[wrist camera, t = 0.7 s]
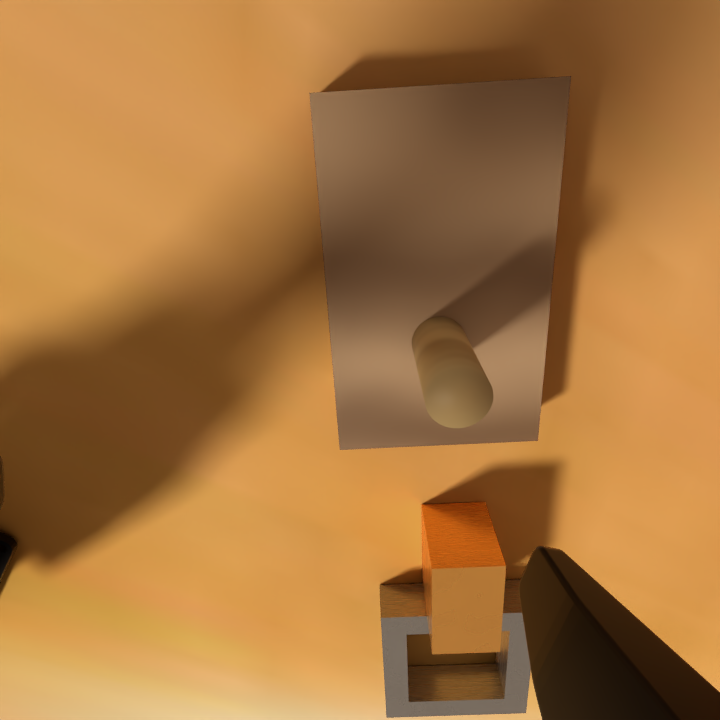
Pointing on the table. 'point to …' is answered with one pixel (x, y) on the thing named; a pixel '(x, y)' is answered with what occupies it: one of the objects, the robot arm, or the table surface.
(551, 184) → the keeper
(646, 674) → the robot arm
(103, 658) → the table surface
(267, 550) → the table surface
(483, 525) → the link
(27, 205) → the table surface
